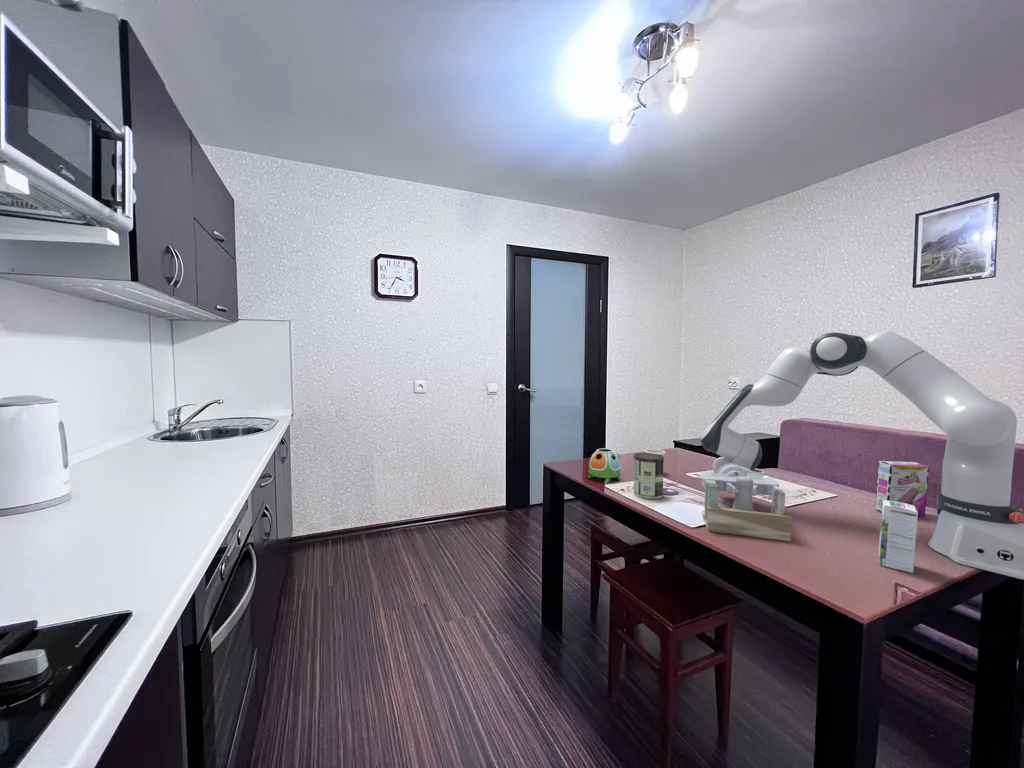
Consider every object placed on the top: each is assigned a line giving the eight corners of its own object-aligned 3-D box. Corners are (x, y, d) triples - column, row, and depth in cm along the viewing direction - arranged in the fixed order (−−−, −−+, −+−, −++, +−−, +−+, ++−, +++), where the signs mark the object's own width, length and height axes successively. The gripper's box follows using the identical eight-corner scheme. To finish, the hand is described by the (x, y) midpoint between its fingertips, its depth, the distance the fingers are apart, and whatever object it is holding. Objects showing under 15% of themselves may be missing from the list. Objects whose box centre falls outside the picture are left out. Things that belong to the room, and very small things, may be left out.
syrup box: (877, 556, 96) (880, 498, 95) (911, 564, 92) (915, 504, 92) (879, 565, 92) (882, 505, 91) (915, 574, 88) (918, 511, 87)
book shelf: (701, 515, 122) (703, 476, 121) (776, 523, 116) (777, 482, 115) (708, 530, 110) (709, 487, 110) (790, 541, 104) (792, 495, 104)
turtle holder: (631, 475, 165) (631, 448, 164) (609, 485, 152) (609, 455, 151) (605, 470, 174) (605, 443, 173) (582, 478, 161) (582, 450, 160)
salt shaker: (728, 520, 114) (730, 477, 112) (733, 514, 118) (735, 472, 116) (751, 526, 109) (753, 482, 108) (756, 520, 114) (758, 477, 112)
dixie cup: (662, 471, 171) (663, 449, 171) (667, 477, 163) (667, 453, 163) (642, 470, 173) (643, 448, 172) (646, 476, 164) (647, 452, 164)
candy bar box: (887, 516, 122) (890, 464, 121) (874, 510, 127) (877, 460, 126) (927, 517, 121) (930, 465, 120) (912, 511, 126) (915, 461, 125)
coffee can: (655, 489, 147) (656, 452, 146) (668, 498, 137) (669, 459, 136) (629, 489, 147) (629, 452, 146) (639, 499, 136) (640, 459, 136)
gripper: (698, 466, 128) (705, 477, 115) (770, 472, 121) (786, 484, 108) (698, 485, 128) (704, 498, 115) (769, 491, 122) (785, 507, 109)
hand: (744, 492), depth 112 cm, fingers closed on salt shaker, 3 cm apart
